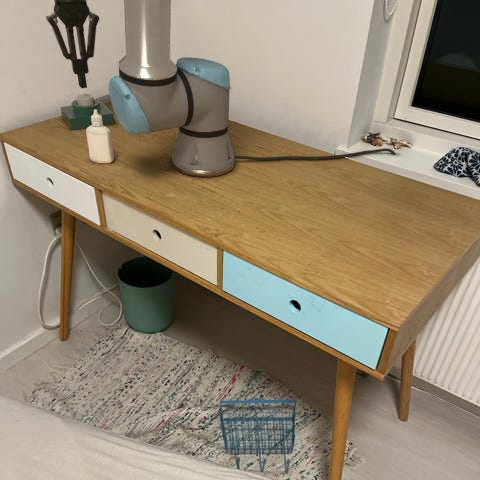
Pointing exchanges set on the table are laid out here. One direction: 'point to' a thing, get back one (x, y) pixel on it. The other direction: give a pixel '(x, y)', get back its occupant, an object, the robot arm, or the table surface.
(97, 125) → the eye dropper bottle
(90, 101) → the pale grey short cylinder
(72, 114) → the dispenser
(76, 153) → the table surface
